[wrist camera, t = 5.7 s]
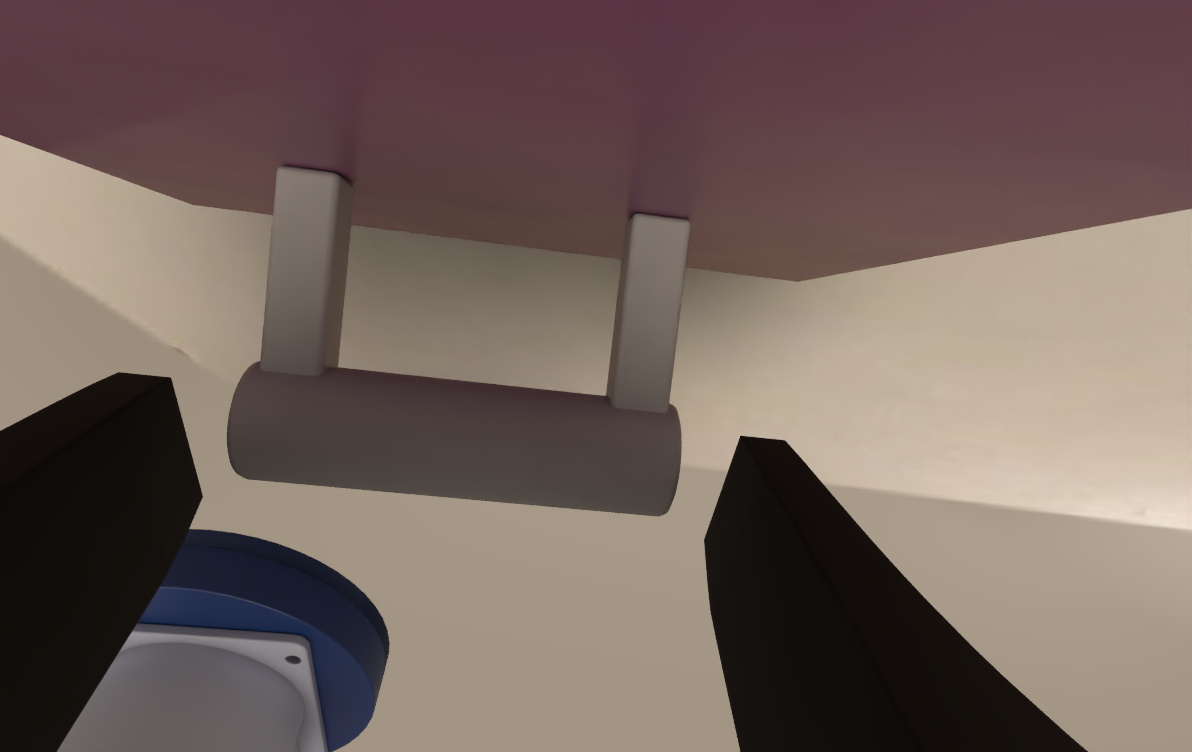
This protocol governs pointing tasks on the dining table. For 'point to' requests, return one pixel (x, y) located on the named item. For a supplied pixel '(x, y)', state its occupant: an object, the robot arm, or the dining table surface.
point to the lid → (592, 177)
